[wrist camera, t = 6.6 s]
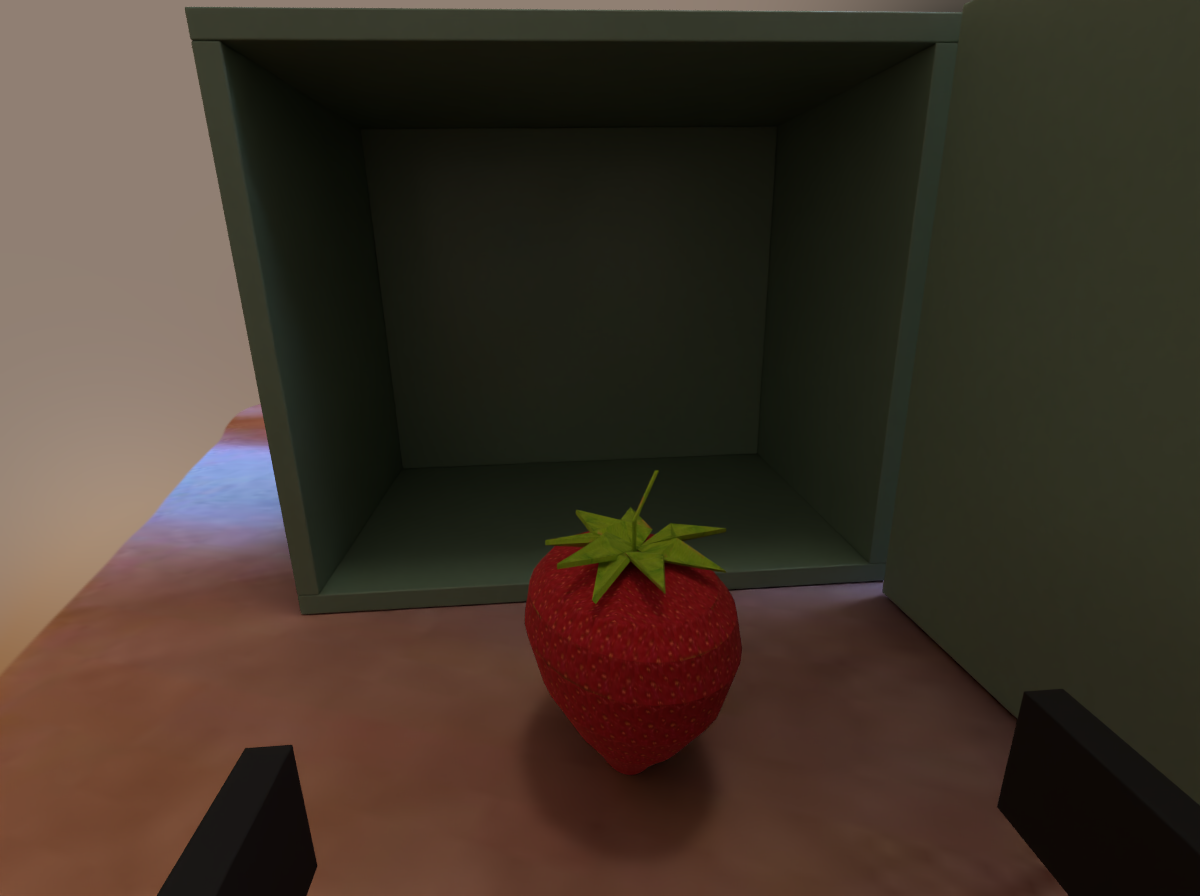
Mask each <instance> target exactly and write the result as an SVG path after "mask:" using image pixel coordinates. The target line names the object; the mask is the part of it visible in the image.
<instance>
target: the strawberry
mask: <svg viewBox="0 0 1200 896" xmlns="http://www.w3.org/2000/svg"><path fill="white" fill-rule="evenodd" d="M658 472H659V470H655V471H654V473H653V476H652V478H651V480H650V482H649V484H648V487H647V489H646V491H645V493H644V495H643V498H642V500H641V502H640V504H639V506H638V509H637V511H636V512H635V511H634V510H633V509H632V508H631V507H630V508H629V510H628V511H627V512H626V513H625V515H624V516H623V517H622V518H621V519H620V520H618V519H614V518H610V517H606V516H602V515H597V514H593V513H589V512H585V511H580V510H576V515H577V516H578V518H579V519H580V520H581V521H582V523H583V524H584V525H585V527H586V528H587V529H588V530H589V531H588V532H583V533H580V534H576V535H572V536H566V537H560V538H554V539H548V540H545V545H552V546H555V547H553V548H552V549H551V550H550V551H549V552H548V553H547V554H546V555H545V556H544V557H543V558H542V560H541V561H540V562H539V563H538V564H537V566H536V567H535V568H534V570H533V573H532V575H531V578H530V582H529V588H528V595H527V602H526V609H525V626H526V630H527V634H528V638H529V641H530V644H531V647H532V650H533V653H534V655H535V658H536V661H537V664H538V667H539V670H540V673H541V675H542V678H543V681H544V684H545V685H546V687H547V689H548V691H549V693H550V695H551V697H552V698H553V699H554V701H555V702H556V703H557V705H558V706H559V707H560V709H561V710H562V711H563V713H564V714H565V715H566V716H567V718H568V719H569V720H570V722H571V723H572V724H573V726H574V727H575V728H576V730H577V731H578V732H579V734H580V735H581V736H582V737H583V738H584V740H585V741H586V742H587V743H588V744H590V745H591V746H592V747H593V748H594V749H595V750H596V751H597V752H599V753H600V754H601V755H602V756H603V757H604V759H605V760H606V761H607V763H608V764H609V765H610V766H611V767H613V768H614V769H615V770H616V771H618V772H620V773H622V774H626V775H635V774H638V773H640V772H642V771H644V770H645V769H646V768H647V767H649V766H651V765H654V764H656V763H659V762H662V761H665V760H667V759H668V758H670V757H672V756H673V755H675V754H676V753H677V752H679V751H680V750H681V749H682V748H684V747H685V746H686V745H687V744H689V743H690V742H691V741H692V740H694V739H695V738H696V737H697V736H699V735H700V734H701V733H702V732H704V731H705V730H706V729H707V728H708V727H709V726H710V725H711V724H712V723H713V722H714V721H715V720H716V718H717V716H718V714H719V712H720V710H721V707H722V705H723V703H724V700H725V698H726V696H727V693H728V691H729V689H730V686H731V684H732V682H733V679H734V677H735V674H736V672H737V670H738V667H739V665H740V662H741V653H742V645H741V638H740V631H739V624H738V617H737V611H736V607H735V602H734V599H733V597H732V596H731V594H730V592H729V590H728V588H727V587H726V586H725V585H724V583H723V582H722V581H721V580H720V579H719V577H718V576H717V575H716V574H715V572H714V571H717V572H723V573H726V571H725V570H724V569H723V568H721V567H720V566H718V565H717V564H715V563H714V562H712V561H711V560H709V559H708V558H706V557H705V556H703V555H702V554H701V553H699V552H698V551H696V550H695V549H693V548H692V547H690V546H689V545H687V544H686V543H684V542H683V541H686V540H691V539H696V538H700V537H705V536H710V535H714V534H719V533H724V532H726V528H718V527H707V526H696V525H686V524H675V523H670V524H669V525H667V526H666V527H665V528H663V529H662V530H661V531H659V532H658V533H657V534H655V535H654V534H650V533H651V532H652V530H653V529H652V528H651V527H650V526H649V525H648V524H647V523H646V522H645V521H644V520H643V519H642V518H641V517H640V516H639V514H640V512H641V509H642V507H643V505H644V503H645V501H646V498H647V496H648V494H649V492H650V490H651V487H652V485H653V483H654V481H655V479H656V476H657V474H658Z"/></svg>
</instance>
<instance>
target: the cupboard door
mask: <svg viewBox="0 0 1200 896" xmlns="http://www.w3.org/2000/svg"><path fill="white" fill-rule="evenodd" d="M883 593H884V594H885V595H886V596H887V597H888V598H889V599H891V600H892V601H893V602H894V603H895V604H896V605H897V606H898V607H899V608H900V609H901V610H902V611H903V612H904V613H905V614H906V615H907V616H909V617H910V618H911V619H912V620H913V621H914V622H915V623H916V624H917V625H918V626H919V627H920V628H921V629H922V630H923V631H924V632H926V633H927V634H928V635H929V636H930V637H931V638H932V639H933V640H934V641H935V642H936V643H937V644H938V645H939V646H940V647H941V648H943V649H944V650H945V651H946V652H947V653H948V654H949V655H950V656H951V657H952V658H953V659H954V660H955V661H956V662H957V663H958V664H959V665H961V666H962V667H963V668H964V669H965V670H966V671H967V672H968V673H969V674H970V675H971V676H972V677H973V678H974V679H975V680H976V681H978V682H979V683H980V684H981V685H982V686H983V687H984V688H985V689H986V690H987V691H988V692H989V693H990V694H991V695H992V696H993V697H995V698H996V699H997V700H998V701H999V702H1000V703H1001V704H1002V705H1003V706H1004V707H1005V708H1006V709H1007V710H1008V711H1009V712H1010V713H1011V714H1013V715H1014V716H1015V717H1016V718H1017V719H1018V715H1019V711H1020V706H1021V702H1022V698H1023V693H1024V691H1037V690H1051V689H1064V690H1065V691H1066V692H1067V693H1069V694H1070V695H1071V696H1072V697H1073V698H1074V699H1076V700H1077V701H1078V702H1079V703H1080V704H1081V705H1083V706H1084V707H1085V708H1086V709H1087V710H1089V711H1090V712H1091V713H1092V714H1093V715H1094V716H1096V717H1097V718H1098V719H1099V720H1100V721H1101V722H1103V723H1104V724H1105V725H1106V726H1107V727H1108V728H1110V729H1111V730H1112V731H1113V732H1114V733H1116V734H1117V735H1118V736H1119V737H1120V738H1121V739H1123V740H1124V741H1125V742H1126V743H1127V744H1128V745H1130V746H1131V747H1132V748H1133V749H1134V750H1135V751H1137V752H1138V753H1139V754H1140V755H1141V756H1143V757H1144V758H1145V759H1146V760H1147V761H1148V762H1150V763H1151V764H1152V765H1153V766H1154V767H1155V768H1157V769H1158V770H1159V771H1160V772H1161V773H1162V774H1164V775H1165V776H1166V777H1167V778H1168V779H1169V780H1171V781H1172V782H1173V783H1174V784H1175V785H1177V786H1178V787H1179V788H1180V789H1181V790H1182V791H1184V792H1185V793H1186V794H1187V795H1188V796H1189V797H1191V798H1192V799H1193V800H1194V801H1195V802H1196V803H1198V804H1199V805H1200V0H972V1H970V2H968V3H966V4H965V5H964V6H963V12H962V20H961V27H960V34H959V41H958V49H957V56H956V63H955V70H954V77H953V85H952V92H951V99H950V106H949V114H948V121H947V128H946V135H945V143H944V150H943V157H942V164H941V171H940V179H939V186H938V193H937V200H936V208H935V215H934V222H933V229H932V237H931V244H930V251H929V258H928V265H927V273H926V280H925V287H924V294H923V302H922V309H921V316H920V323H919V331H918V338H917V345H916V352H915V359H914V367H913V374H912V381H911V388H910V396H909V403H908V410H907V417H906V425H905V432H904V439H903V446H902V453H901V461H900V468H899V475H898V482H897V490H896V497H895V504H894V511H893V519H892V526H891V533H890V540H889V547H888V555H887V562H886V569H885V576H884V584H883Z"/></svg>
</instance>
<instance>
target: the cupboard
mask: <svg viewBox="0 0 1200 896" xmlns="http://www.w3.org/2000/svg"><path fill="white" fill-rule="evenodd" d="M185 12H186V18H187V23H188V28H189V33H190V38H191V40H192V48H193V53H194V58H195V64H196V69H197V74H198V79H199V85H200V89H201V95H202V99H203V105H204V111H205V116H206V121H207V126H208V131H209V137H210V142H211V147H212V152H213V157H214V163H215V167H216V173H217V178H218V184H219V189H220V193H221V199H222V204H223V210H224V215H225V220H226V225H227V230H228V236H229V240H230V246H231V251H232V256H233V262H234V266H235V272H236V277H237V282H238V288H239V292H240V298H241V303H242V309H243V314H244V318H245V324H246V329H247V334H248V340H249V345H250V350H251V355H252V361H253V365H254V371H255V376H256V381H257V386H258V392H259V397H260V402H261V407H262V413H263V418H264V423H265V428H266V434H267V439H268V444H269V449H270V454H271V460H272V465H273V470H274V475H275V480H276V486H277V491H278V496H279V501H280V506H281V512H282V517H283V522H284V527H285V532H286V538H287V543H288V548H289V553H290V559H291V564H292V569H293V574H294V579H295V585H296V590H297V595H298V600H299V605H300V611H301V614H318V613H335V612H352V611H369V610H386V609H403V608H420V607H437V606H455V605H472V604H489V603H506V602H523V601H527V595H528V588H529V582H530V578H531V575H532V573H533V570H534V568H535V567H536V566H537V564H538V563H539V562H540V561H541V560H542V558H543V557H544V556H545V555H546V554H547V553H548V552H549V551H550V550H551V549H552V548H553V547H555V546H552V545H545V540H548V539H554V538H560V537H566V536H572V535H576V534H580V533H583V532H588V531H589V530H588V529H587V528H586V527H585V525H584V524H583V523H582V521H581V520H580V519H579V518H578V516H577V515H576V510H580V511H585V512H589V513H593V514H597V515H602V516H606V517H610V518H614V519H618V520H620V519H621V518H622V517H623V516H624V515H625V513H626V512H627V511H628V510H629V508H630V507H631V508H632V509H633V510H634V511H635V512H636V511H637V509H638V506H639V504H640V502H641V500H642V498H643V495H644V493H645V491H646V489H647V487H648V484H649V482H650V480H651V478H652V476H653V473H654V471H655V470H659V472H658V474H657V476H656V479H655V481H654V483H653V485H652V487H651V490H650V492H649V494H648V496H647V498H646V501H645V503H644V505H643V507H642V509H641V512H640V514H639V516H640V517H641V518H642V519H643V520H644V521H645V522H646V523H647V524H648V525H649V526H650V527H651V528H652V529H653V530H652V532H651V533H650V534H654V535H655V534H657V533H658V532H659V531H661V530H662V529H663V528H665V527H666V526H667V525H669V524H670V523H675V524H686V525H696V526H707V527H718V528H726V532H724V533H719V534H714V535H710V536H705V537H700V538H696V539H691V540H686V541H683V542H684V543H686V544H687V545H689V546H690V547H692V548H693V549H695V550H696V551H698V552H699V553H701V554H702V555H703V556H705V557H706V558H708V559H709V560H711V561H712V562H714V563H715V564H717V565H718V566H720V567H721V568H723V569H724V570H725V571H726V573H723V572H717V571H714V572H715V574H716V575H717V576H718V577H719V579H720V580H721V581H722V582H723V583H724V585H725V586H726V587H727V588H728V589H745V588H762V587H779V586H796V585H814V584H831V583H848V582H865V581H882V580H884V576H885V569H886V562H887V555H888V547H889V540H890V533H891V526H892V519H893V511H894V504H895V497H896V490H897V482H898V475H899V468H900V461H901V453H902V446H903V439H904V432H905V425H906V417H907V410H908V403H909V396H910V388H911V381H912V374H913V367H914V359H915V352H916V345H917V338H918V331H919V323H920V316H921V309H922V302H923V294H924V287H925V280H926V273H927V265H928V258H929V251H930V244H931V237H932V229H933V222H934V215H935V208H936V200H937V193H938V186H939V179H940V171H941V164H942V157H943V150H944V143H945V135H946V128H947V121H948V114H949V106H950V99H951V92H952V85H953V77H954V70H955V63H956V56H957V49H958V41H959V34H960V27H961V20H962V12H836V11H829V12H828V11H825V12H824V11H822V12H821V11H689V10H688V11H687V10H680V11H679V10H547V9H546V10H544V9H541V10H538V9H528V10H527V9H402V8H400V9H396V8H256V7H254V8H253V7H252V8H251V7H250V8H249V7H248V8H247V7H246V8H245V7H244V8H243V7H239V8H238V7H185Z"/></svg>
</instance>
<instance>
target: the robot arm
mask: <svg viewBox="0 0 1200 896" xmlns="http://www.w3.org/2000/svg"><path fill="white" fill-rule="evenodd" d="M997 807H998V808H999V810H1000V811H1001V812H1002V813H1003V815H1004V816H1005V817H1006V818H1007V820H1008V821H1009V822H1010V823H1011V825H1012V826H1013V827H1014V828H1015V830H1016V831H1017V832H1018V833H1019V834H1020V836H1021V837H1022V838H1023V839H1024V841H1025V842H1026V843H1027V844H1028V846H1029V847H1030V848H1031V849H1032V851H1033V852H1034V853H1035V854H1036V856H1037V857H1038V858H1039V859H1040V860H1041V862H1042V863H1043V864H1044V865H1045V867H1046V868H1047V869H1048V870H1049V872H1050V873H1051V874H1052V875H1053V877H1054V878H1055V879H1056V880H1057V882H1058V883H1059V884H1060V885H1061V886H1062V888H1063V889H1064V890H1065V891H1066V893H1067V894H1068V895H1069V896H1200V805H1199V804H1198V803H1196V802H1195V801H1194V800H1193V799H1192V798H1191V797H1189V796H1188V795H1187V794H1186V793H1185V792H1184V791H1182V790H1181V789H1180V788H1179V787H1178V786H1177V785H1175V784H1174V783H1173V782H1172V781H1171V780H1169V779H1168V778H1167V777H1166V776H1165V775H1164V774H1162V773H1161V772H1160V771H1159V770H1158V769H1157V768H1155V767H1154V766H1153V765H1152V764H1151V763H1150V762H1148V761H1147V760H1146V759H1145V758H1144V757H1143V756H1141V755H1140V754H1139V753H1138V752H1137V751H1135V750H1134V749H1133V748H1132V747H1131V746H1130V745H1128V744H1127V743H1126V742H1125V741H1124V740H1123V739H1121V738H1120V737H1119V736H1118V735H1117V734H1116V733H1114V732H1113V731H1112V730H1111V729H1110V728H1108V727H1107V726H1106V725H1105V724H1104V723H1103V722H1101V721H1100V720H1099V719H1098V718H1097V717H1096V716H1094V715H1093V714H1092V713H1091V712H1090V711H1089V710H1087V709H1086V708H1085V707H1084V706H1083V705H1081V704H1080V703H1079V702H1078V701H1077V700H1076V699H1074V698H1073V697H1072V696H1071V695H1070V694H1069V693H1067V692H1066V691H1065V690H1064V689H1051V690H1037V691H1024V693H1023V698H1022V702H1021V706H1020V711H1019V715H1018V719H1017V723H1016V728H1015V732H1014V736H1013V741H1012V745H1011V749H1010V754H1009V758H1008V762H1007V766H1006V771H1005V775H1004V779H1003V784H1002V788H1001V792H1000V796H999V801H998V805H997ZM316 868H317V862H316V857H315V852H314V847H313V842H312V838H311V833H310V828H309V823H308V818H307V814H306V809H305V804H304V799H303V794H302V790H301V785H300V780H299V775H298V770H297V766H296V761H295V756H294V751H293V747H292V745H284V746H270V747H257V748H245V750H244V751H243V753H242V755H241V756H240V758H239V760H238V761H237V763H236V765H235V766H234V768H233V770H232V771H231V773H230V775H229V776H228V778H227V780H226V781H225V783H224V785H223V786H222V788H221V790H220V791H219V793H218V795H217V796H216V798H215V800H214V801H213V803H212V805H211V806H210V808H209V810H208V811H207V813H206V815H205V816H204V818H203V820H202V821H201V823H200V825H199V826H198V828H197V830H196V831H195V833H194V835H193V836H192V838H191V839H190V841H189V843H188V844H187V846H186V848H185V849H184V851H183V853H182V854H181V856H180V858H179V859H178V861H177V863H176V864H175V866H174V868H173V869H172V871H171V873H170V874H169V876H168V878H167V879H166V881H165V883H164V884H163V886H162V888H161V889H160V891H159V893H158V894H157V896H306V895H307V893H308V890H309V887H310V885H311V882H312V879H313V876H314V874H315V871H316Z"/></svg>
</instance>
